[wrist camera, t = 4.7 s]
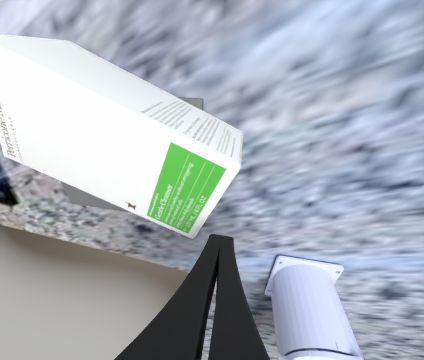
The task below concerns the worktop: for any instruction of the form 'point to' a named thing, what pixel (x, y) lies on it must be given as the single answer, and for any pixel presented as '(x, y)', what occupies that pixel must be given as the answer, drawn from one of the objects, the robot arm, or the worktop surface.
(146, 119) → the skincare box
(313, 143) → the worktop surface
